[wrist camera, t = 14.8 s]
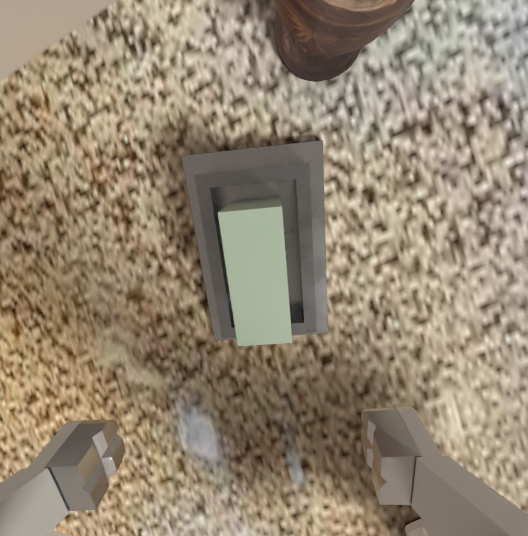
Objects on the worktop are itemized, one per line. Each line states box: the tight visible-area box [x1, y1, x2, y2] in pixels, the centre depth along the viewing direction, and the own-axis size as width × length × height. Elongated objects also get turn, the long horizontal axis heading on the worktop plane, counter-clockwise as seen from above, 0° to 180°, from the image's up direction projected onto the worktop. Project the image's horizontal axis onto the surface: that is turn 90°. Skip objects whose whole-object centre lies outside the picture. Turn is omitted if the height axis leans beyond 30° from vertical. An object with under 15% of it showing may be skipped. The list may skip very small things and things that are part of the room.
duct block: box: [218, 197, 292, 346], centre depth 25 cm, size 4×11×8 cm, turn 6°
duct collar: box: [182, 140, 328, 340], centre depth 28 cm, size 20×13×3 cm, turn 6°
